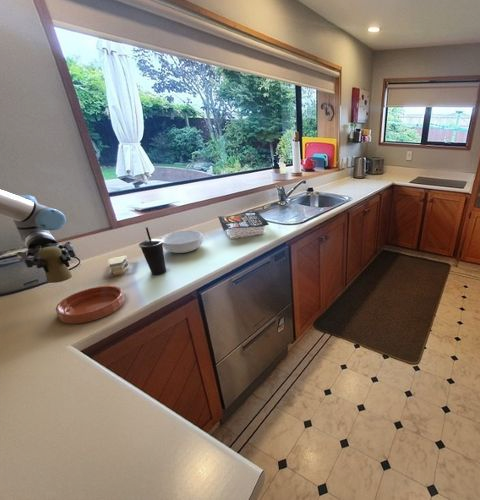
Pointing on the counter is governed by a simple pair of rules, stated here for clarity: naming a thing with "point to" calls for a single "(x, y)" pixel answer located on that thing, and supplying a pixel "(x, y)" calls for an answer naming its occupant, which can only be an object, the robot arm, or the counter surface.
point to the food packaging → (243, 224)
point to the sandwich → (118, 264)
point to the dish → (90, 304)
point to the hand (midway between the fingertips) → (56, 265)
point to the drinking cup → (154, 254)
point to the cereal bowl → (182, 241)
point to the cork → (54, 264)
